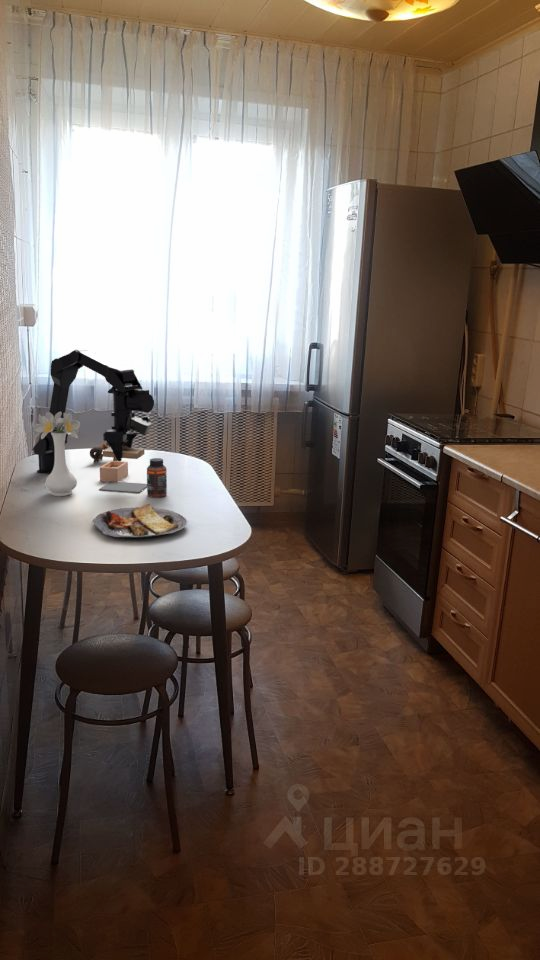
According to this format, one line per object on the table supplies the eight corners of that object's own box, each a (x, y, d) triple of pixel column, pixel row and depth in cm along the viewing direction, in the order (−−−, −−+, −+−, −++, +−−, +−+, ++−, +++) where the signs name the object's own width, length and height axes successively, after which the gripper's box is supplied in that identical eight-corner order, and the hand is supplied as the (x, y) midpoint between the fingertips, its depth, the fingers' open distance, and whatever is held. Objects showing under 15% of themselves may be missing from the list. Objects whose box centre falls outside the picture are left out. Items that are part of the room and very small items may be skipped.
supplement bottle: (170, 494, 235) (170, 458, 233) (160, 499, 230) (159, 462, 227) (154, 491, 238) (153, 456, 235) (143, 496, 233) (142, 460, 230)
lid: (136, 459, 235) (136, 450, 234) (102, 456, 237) (102, 447, 236) (144, 454, 242) (144, 445, 241) (111, 451, 243) (111, 443, 243)
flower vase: (85, 485, 243) (83, 407, 237) (78, 501, 226) (75, 417, 219) (43, 485, 242) (39, 406, 235) (33, 501, 224) (28, 417, 218)
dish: (99, 480, 249) (99, 467, 248) (111, 473, 259) (110, 460, 257) (117, 482, 248) (117, 468, 247) (128, 474, 258) (127, 461, 257)
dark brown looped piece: (106, 458, 282) (116, 440, 279) (119, 474, 277) (129, 456, 275) (80, 455, 272) (90, 436, 270) (93, 471, 268) (103, 452, 265)
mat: (98, 490, 238) (98, 489, 238) (110, 482, 247) (110, 481, 247) (139, 493, 236) (139, 491, 236) (149, 485, 245) (149, 483, 245)
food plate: (83, 519, 209) (82, 506, 208) (163, 510, 220) (163, 498, 219) (112, 549, 188) (112, 536, 187) (199, 538, 199) (199, 525, 198)
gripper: (138, 415, 225) (138, 467, 229) (157, 405, 243) (157, 453, 247) (102, 413, 227) (103, 464, 231) (123, 403, 245) (124, 451, 249)
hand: (123, 458), depth 239 cm, fingers closed on lid, 7 cm apart
